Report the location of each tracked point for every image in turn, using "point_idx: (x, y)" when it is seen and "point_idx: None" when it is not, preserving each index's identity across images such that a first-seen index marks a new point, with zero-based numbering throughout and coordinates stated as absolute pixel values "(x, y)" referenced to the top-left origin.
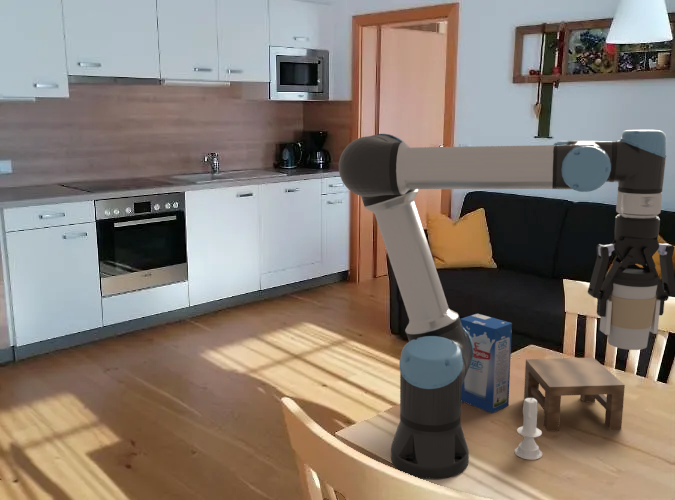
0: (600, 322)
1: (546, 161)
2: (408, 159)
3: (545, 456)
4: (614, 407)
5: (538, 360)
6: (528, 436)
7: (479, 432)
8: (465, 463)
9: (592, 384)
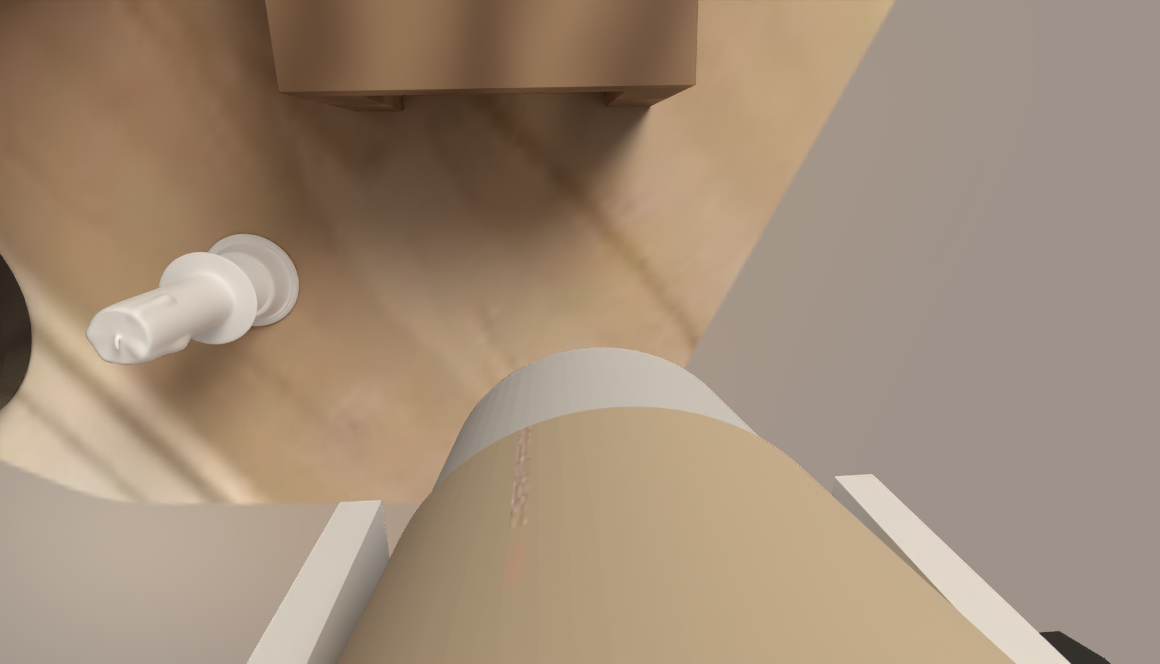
0: (308, 563)
1: None
2: None
3: (309, 301)
4: (630, 98)
5: None
6: (198, 340)
7: (74, 108)
8: (5, 388)
9: (526, 68)
